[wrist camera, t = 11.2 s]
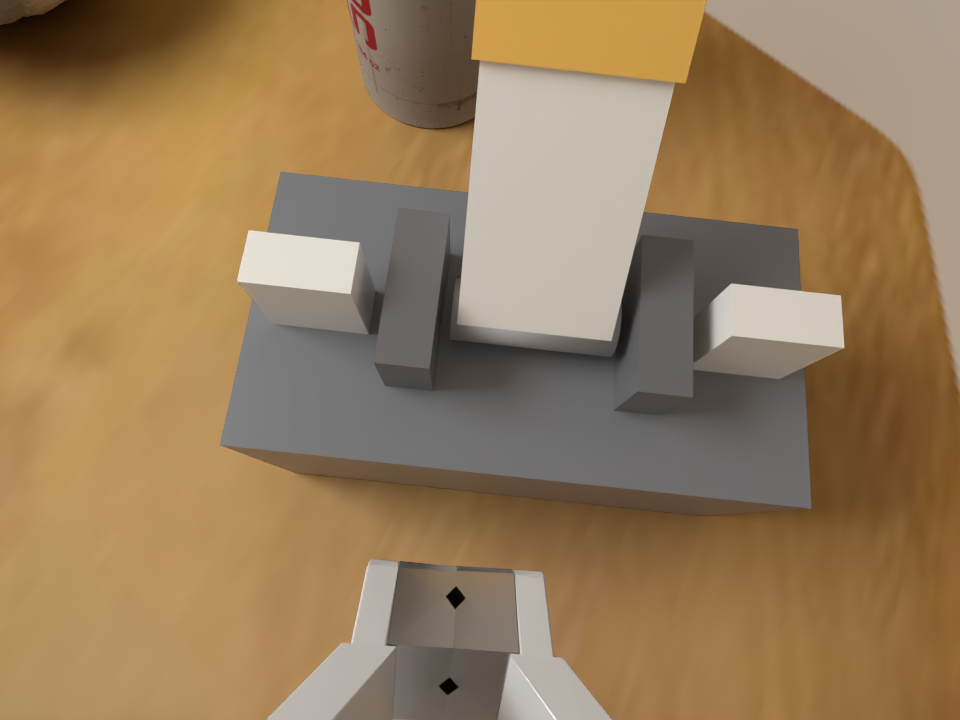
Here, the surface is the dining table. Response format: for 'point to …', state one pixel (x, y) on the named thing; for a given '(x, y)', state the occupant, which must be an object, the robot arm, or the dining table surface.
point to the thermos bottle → (418, 58)
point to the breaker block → (525, 362)
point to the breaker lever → (564, 164)
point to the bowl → (24, 9)
